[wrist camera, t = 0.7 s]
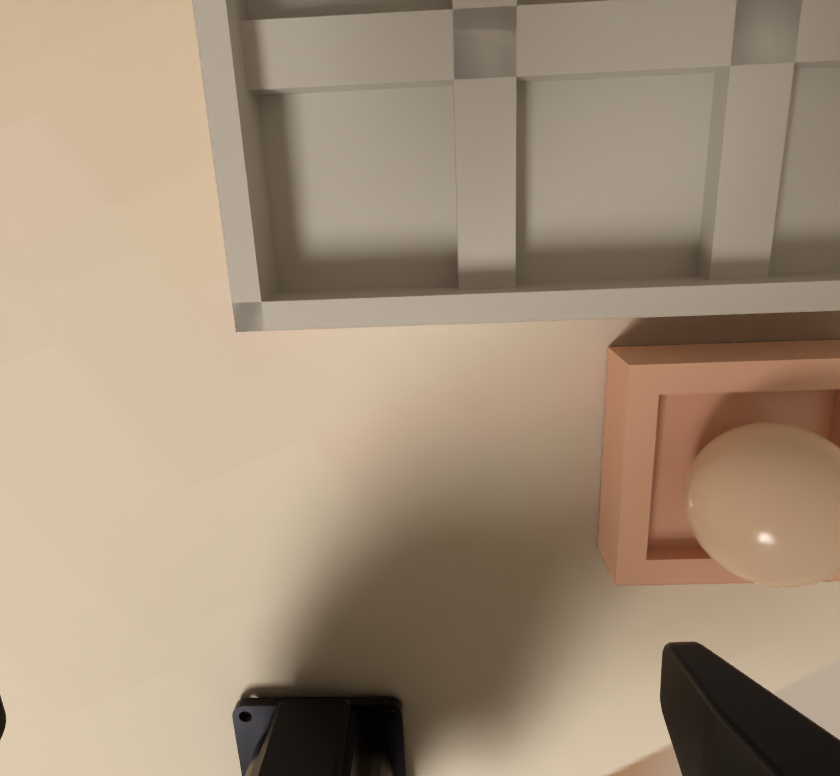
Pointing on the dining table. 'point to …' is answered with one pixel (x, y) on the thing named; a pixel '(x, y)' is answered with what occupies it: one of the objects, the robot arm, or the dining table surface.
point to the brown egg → (768, 503)
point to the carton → (523, 158)
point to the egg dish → (694, 439)
